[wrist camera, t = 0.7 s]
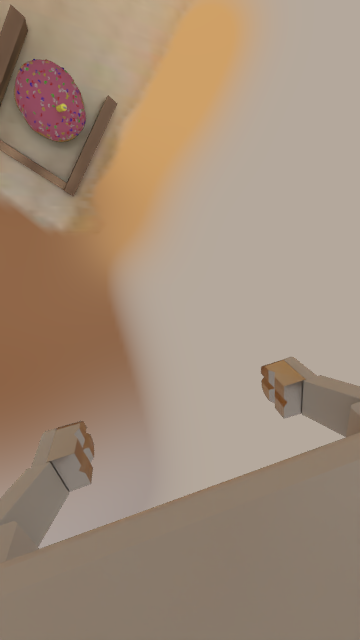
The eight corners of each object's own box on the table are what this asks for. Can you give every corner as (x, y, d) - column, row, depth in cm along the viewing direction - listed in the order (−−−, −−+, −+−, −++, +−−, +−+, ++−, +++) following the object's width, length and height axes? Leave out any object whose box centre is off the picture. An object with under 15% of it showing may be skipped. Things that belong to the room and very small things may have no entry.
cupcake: (94, 117, 39) (105, 99, 30) (59, 158, 40) (59, 153, 30) (44, 54, 34) (38, 7, 25) (4, 102, 35) (-16, 74, 25)
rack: (-26, 133, 35) (-33, 130, 32) (14, 19, 32) (10, 4, 29) (72, 195, 43) (73, 196, 40) (113, 108, 40) (117, 103, 37)
